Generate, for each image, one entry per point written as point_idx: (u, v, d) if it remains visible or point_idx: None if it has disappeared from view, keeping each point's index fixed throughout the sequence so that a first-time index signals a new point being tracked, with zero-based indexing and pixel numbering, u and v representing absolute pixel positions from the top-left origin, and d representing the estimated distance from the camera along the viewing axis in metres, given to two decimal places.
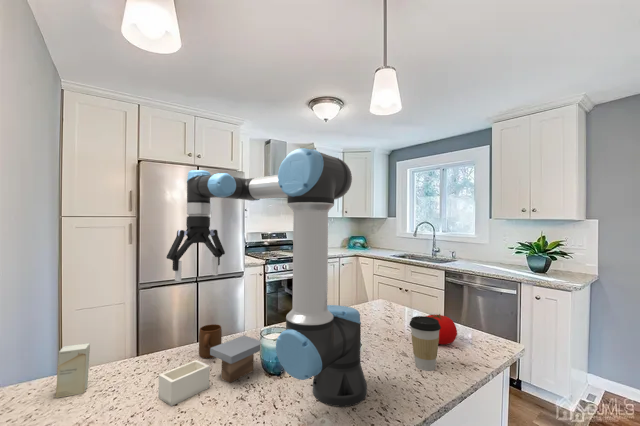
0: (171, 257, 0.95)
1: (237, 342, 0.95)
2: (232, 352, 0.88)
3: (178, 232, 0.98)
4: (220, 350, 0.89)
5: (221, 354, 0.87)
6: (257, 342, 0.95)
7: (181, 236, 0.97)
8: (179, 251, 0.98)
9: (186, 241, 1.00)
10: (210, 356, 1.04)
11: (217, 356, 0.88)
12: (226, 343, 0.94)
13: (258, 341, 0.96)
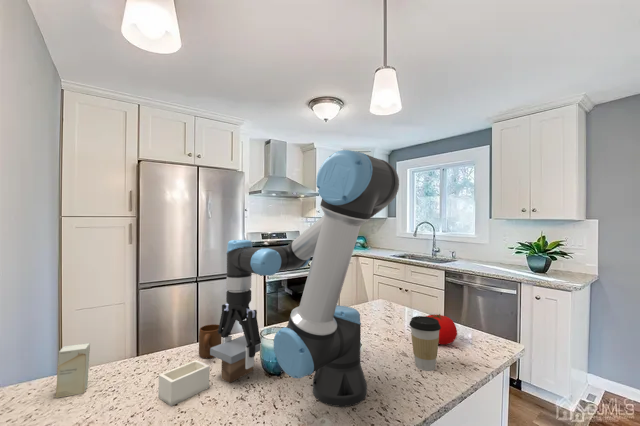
0: (218, 332, 0.97)
1: (237, 342, 0.95)
2: (232, 352, 0.88)
3: None
4: (220, 350, 0.89)
5: (221, 354, 0.87)
6: None
7: (222, 311, 0.96)
8: None
9: None
10: (210, 356, 1.04)
11: (217, 356, 0.88)
12: (226, 343, 0.94)
13: None
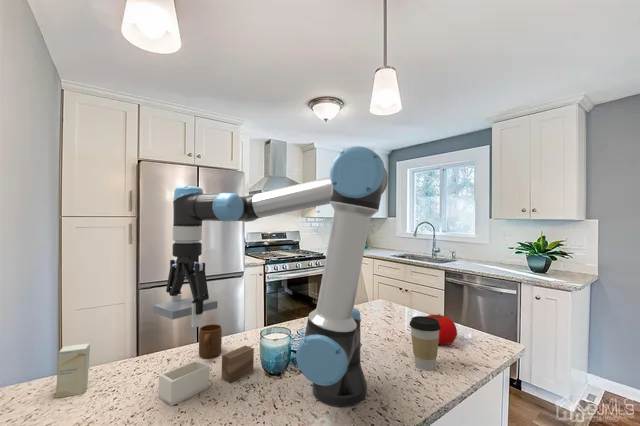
0: (166, 290, 0.88)
1: (186, 301, 0.86)
2: (176, 308, 0.78)
3: None
4: (163, 307, 0.80)
5: (163, 310, 0.78)
6: (209, 301, 0.86)
7: (170, 267, 0.87)
8: None
9: None
10: (210, 356, 1.04)
11: (160, 313, 0.79)
12: (173, 301, 0.85)
13: (210, 300, 0.87)
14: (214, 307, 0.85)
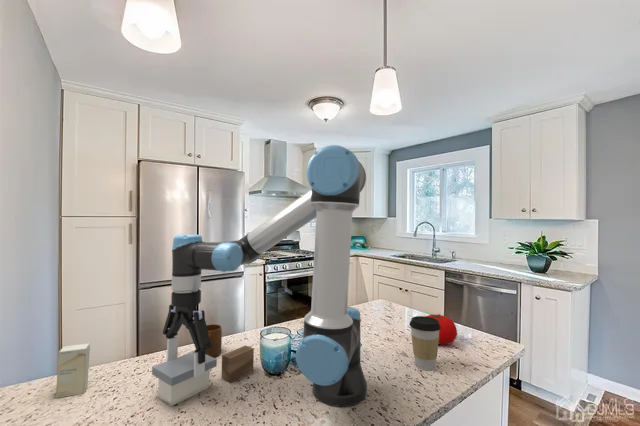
0: (163, 332, 0.88)
1: (185, 359, 0.85)
2: (175, 372, 0.78)
3: None
4: (162, 370, 0.79)
5: (162, 374, 0.78)
6: (208, 359, 0.85)
7: (169, 311, 0.86)
8: None
9: None
10: None
11: (158, 376, 0.79)
12: (172, 361, 0.84)
13: (209, 358, 0.86)
14: (213, 366, 0.85)
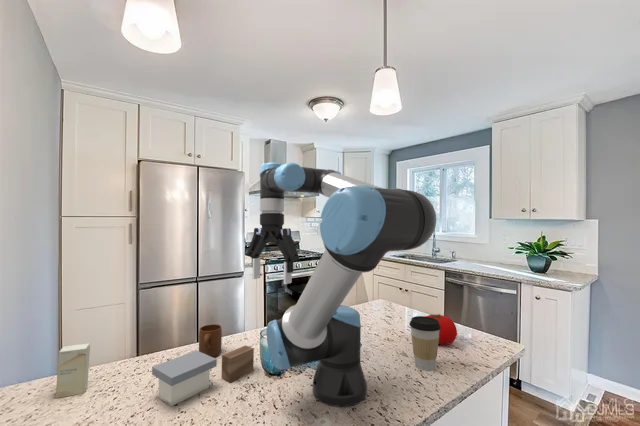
0: (247, 253, 0.99)
1: (185, 359, 0.85)
2: (175, 372, 0.78)
3: None
4: (162, 370, 0.79)
5: (162, 374, 0.78)
6: (208, 359, 0.85)
7: (254, 234, 0.97)
8: None
9: None
10: None
11: (158, 376, 0.79)
12: (172, 361, 0.84)
13: (209, 358, 0.86)
14: (213, 366, 0.85)
